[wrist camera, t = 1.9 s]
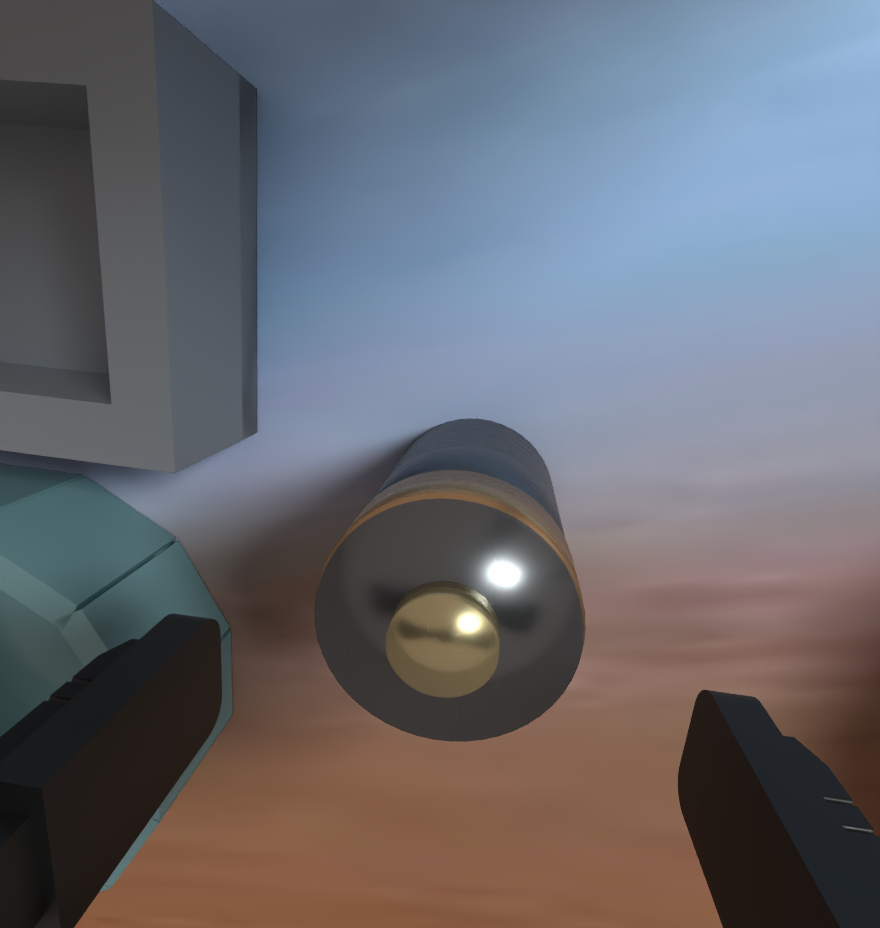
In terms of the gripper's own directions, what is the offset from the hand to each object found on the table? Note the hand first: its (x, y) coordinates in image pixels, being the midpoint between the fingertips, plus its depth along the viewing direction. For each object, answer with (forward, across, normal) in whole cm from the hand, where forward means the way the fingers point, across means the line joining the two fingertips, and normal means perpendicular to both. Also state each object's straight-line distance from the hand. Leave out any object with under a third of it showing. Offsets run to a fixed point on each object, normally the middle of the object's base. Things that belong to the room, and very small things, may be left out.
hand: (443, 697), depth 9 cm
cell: (+9, 0, -1) cm, 9 cm away
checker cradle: (+8, +15, -7) cm, 19 cm away
